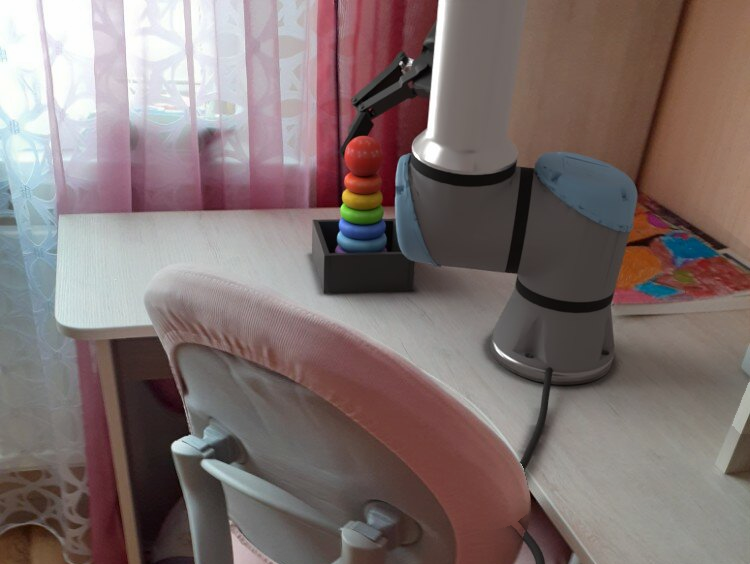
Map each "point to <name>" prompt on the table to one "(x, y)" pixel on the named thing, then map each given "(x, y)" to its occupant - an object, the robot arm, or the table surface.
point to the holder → (359, 263)
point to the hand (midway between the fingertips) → (381, 171)
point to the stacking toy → (362, 200)
